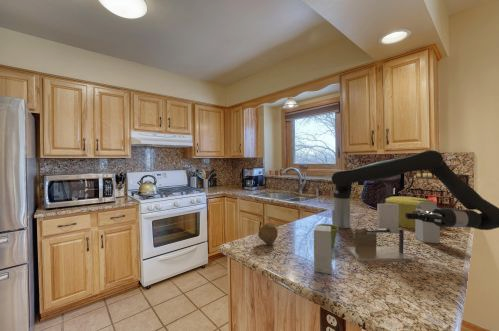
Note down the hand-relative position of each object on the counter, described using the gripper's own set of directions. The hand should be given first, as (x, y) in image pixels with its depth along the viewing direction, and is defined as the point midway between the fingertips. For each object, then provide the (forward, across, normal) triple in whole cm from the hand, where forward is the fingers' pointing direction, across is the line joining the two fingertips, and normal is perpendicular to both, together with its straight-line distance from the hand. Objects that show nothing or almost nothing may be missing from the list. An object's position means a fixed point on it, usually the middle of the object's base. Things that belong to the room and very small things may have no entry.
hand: (406, 215), depth 94 cm
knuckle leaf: (+8, -1, -7) cm, 11 cm away
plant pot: (+29, +8, -18) cm, 35 cm away
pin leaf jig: (+12, -1, -17) cm, 20 cm away
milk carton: (-22, +17, -16) cm, 32 cm away
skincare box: (+38, -14, -18) cm, 44 cm away
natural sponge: (+57, +8, -19) cm, 60 cm away
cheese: (-34, +48, -16) cm, 61 cm away
